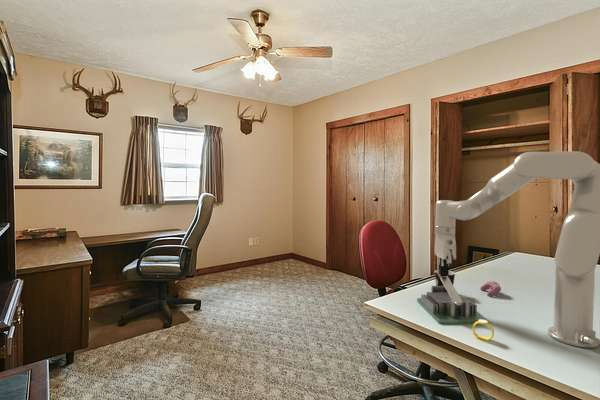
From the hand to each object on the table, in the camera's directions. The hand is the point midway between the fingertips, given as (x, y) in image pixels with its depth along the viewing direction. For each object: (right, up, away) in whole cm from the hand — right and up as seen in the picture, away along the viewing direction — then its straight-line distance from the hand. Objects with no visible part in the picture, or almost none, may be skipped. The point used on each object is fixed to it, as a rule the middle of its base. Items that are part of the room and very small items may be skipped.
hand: (443, 274), depth 128 cm
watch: (+1, -15, -26) cm, 30 cm away
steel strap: (0, -4, -5) cm, 6 cm away
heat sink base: (0, -14, -4) cm, 14 cm away
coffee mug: (+8, -13, +16) cm, 22 cm away
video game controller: (+30, -13, +17) cm, 36 cm away
